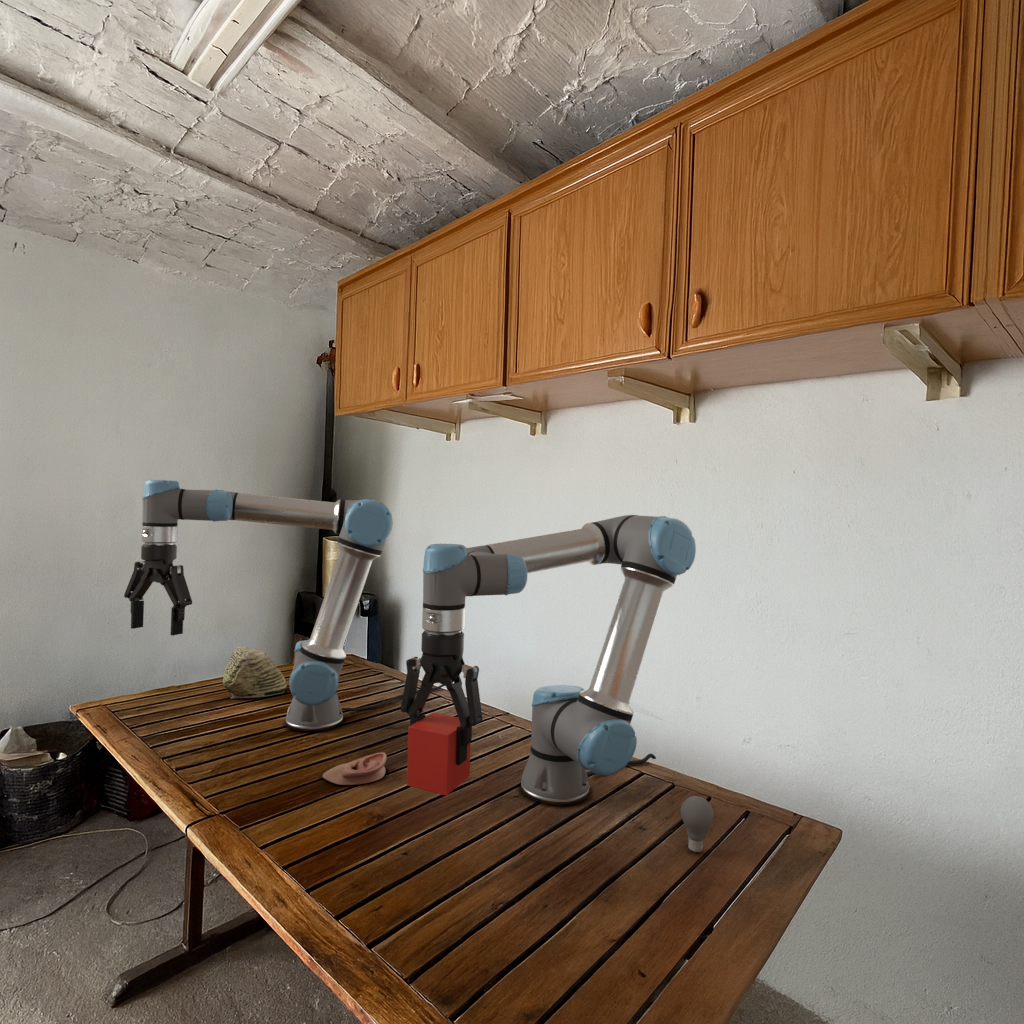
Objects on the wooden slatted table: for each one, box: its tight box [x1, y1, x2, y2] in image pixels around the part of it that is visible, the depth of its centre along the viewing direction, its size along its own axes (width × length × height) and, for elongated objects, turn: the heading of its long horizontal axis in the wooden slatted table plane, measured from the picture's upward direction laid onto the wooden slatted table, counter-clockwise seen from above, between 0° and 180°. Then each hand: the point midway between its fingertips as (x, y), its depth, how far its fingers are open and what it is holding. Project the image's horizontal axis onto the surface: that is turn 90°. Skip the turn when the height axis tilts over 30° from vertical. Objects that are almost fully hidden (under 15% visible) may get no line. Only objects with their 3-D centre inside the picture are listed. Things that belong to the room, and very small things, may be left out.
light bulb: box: [680, 795, 715, 853], centre depth 119 cm, size 6×6×10 cm
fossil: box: [222, 646, 288, 699], centre depth 198 cm, size 9×18×15 cm, turn 132°
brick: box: [406, 712, 471, 796], centre depth 113 cm, size 8×8×10 cm
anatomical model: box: [321, 751, 387, 786], centre depth 144 cm, size 13×4×12 cm
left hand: (156, 631), depth 153 cm, fingers open, 13 cm apart
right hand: (439, 756), depth 113 cm, fingers closed on brick, 8 cm apart
